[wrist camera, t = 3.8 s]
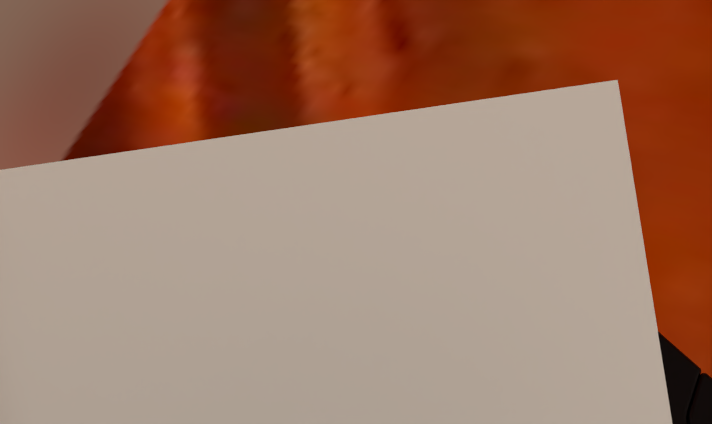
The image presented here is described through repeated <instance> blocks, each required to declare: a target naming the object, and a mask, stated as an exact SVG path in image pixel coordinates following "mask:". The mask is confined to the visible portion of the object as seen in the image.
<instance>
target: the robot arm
mask: <svg viewBox="0 0 712 424" xmlns="http://www.w3.org/2000/svg"><path fill="white" fill-rule="evenodd" d="M658 336H659V342H660V349H661V355H662V361H663V367H664V374H665V380H666V386H667V392H668V399H669V405H670V411H671V417H672V424H712V378H711V377H710V376H709V375H707V374H706V373H702V374H701V369H700V368H699V367H698V366H697V365H696V364H695V363H693V362H692V361H691V360H690V359H689V358H688V357H687V356H685V355H684V354H683V353H682V352H681V351H680V350H679V349H677V348H676V347H675V346H674V345H673V344H672V343H671V342H669V341H668V340H667V339H666V338H665V337H664V336H663V335H662V334H660V333H659V332H658ZM700 374H701V375H700Z"/></svg>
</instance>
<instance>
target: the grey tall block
mask: <svg viewBox="0 0 712 424" xmlns="http://www.w3.org/2000/svg"><path fill="white" fill-rule="evenodd" d="M0 424H672V417H671V411H670V405H669V399H668V392H667V386H666V380H665V374H664V367H663V361H662V355H661V349H660V342H659V336H658V330H657V324H656V317H655V311H654V305H653V299H652V292H651V286H650V280H649V274H648V267H647V261H646V255H645V249H644V242H643V236H642V230H641V224H640V217H639V211H638V205H637V199H636V192H635V186H634V180H633V174H632V167H631V161H630V155H629V148H628V142H627V136H626V130H625V123H624V117H623V111H622V105H621V98H620V92H619V86H618V80H614V81H607V82H600V83H593V84H586V85H579V86H572V87H566V88H559V89H552V90H545V91H538V92H531V93H524V94H518V95H511V96H504V97H497V98H490V99H483V100H476V101H470V102H463V103H456V104H449V105H442V106H435V107H428V108H422V109H415V110H408V111H401V112H394V113H387V114H381V115H374V116H367V117H360V118H353V119H346V120H339V121H333V122H326V123H319V124H312V125H305V126H298V127H291V128H285V129H278V130H271V131H264V132H257V133H250V134H243V135H237V136H230V137H223V138H216V139H209V140H202V141H195V142H189V143H182V144H175V145H168V146H161V147H154V148H148V149H141V150H134V151H127V152H120V153H113V154H106V155H100V156H93V157H86V158H79V159H72V160H65V161H58V162H52V163H46V164H38V165H31V166H24V167H18V168H11V169H4V170H0Z"/></svg>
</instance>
